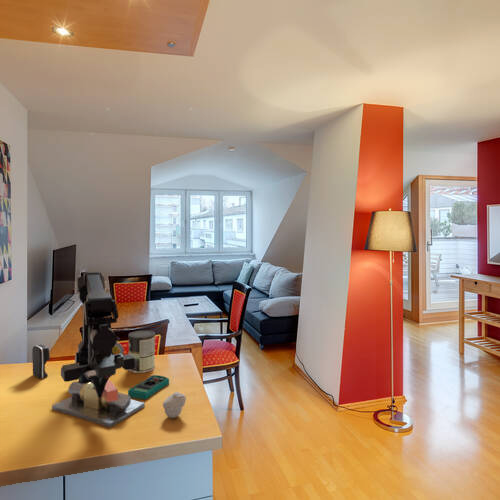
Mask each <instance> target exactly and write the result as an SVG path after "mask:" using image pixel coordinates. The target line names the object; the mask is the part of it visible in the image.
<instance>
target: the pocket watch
mask: <svg viewBox="0 0 500 500" xmlns="http://www.w3.org/2000/svg"><path fill="white" fill-rule="evenodd" d="M116 338H117V341H116V344H115V346H114V347H113V348H112V353H113V355H118V354H122V355H124V353H125V350H124V349H125V348H124V347H123V345H122V344H121V343H119V340H120V337H118V336H116Z"/></svg>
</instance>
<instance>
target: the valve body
mask: <svg viewBox="0 0 500 500" xmlns="http://www.w3.org/2000/svg"><path fill="white" fill-rule="evenodd" d="M112 384H113V385H114V382H112ZM67 391H68V394H70V395H71V396H69V397H68V398H65V399H63V400H60V401H59V402H56V403H54V404H52V405H51V410H52V411H56V412H59V413H63V414H66V415H70V416H73V417H75V418H78V419H82V420H84V421H89V422H92V423H95V424H97V425H98V424H99V425H100V426H101V425H102V426H103V427H108V428H113V427H114V426H116V425H117V424H119V423H120V422H123V421H124V420H126V419H127V418H129V417H130V416H132V415H134V414H135V413H137V412H138V411H140V410H142V409H143V408H145V407H146V405H145V402H143V401H138V400H136V399H132V397H130V396H129V395H128V394H126V393H122V392H119V391H118V400H115V401H111V402H107V401H106V400H105V398H104V397H103V395H102V396H101V398H98V396H97V393H96V390H95V388H94V385H93V383H91V382H88V383H86V384H84V383H80V382H78V381H77V380H74V381H73V382H72V381H71V383H70V384H69V386H68V390H67Z"/></svg>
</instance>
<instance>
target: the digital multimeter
mask: <svg viewBox="0 0 500 500" xmlns="http://www.w3.org/2000/svg"><path fill="white" fill-rule="evenodd" d="M169 384H170V379H169V378H168V377H166V376H163V375H157V374H155V375H154V374H153V375H151V376H150V377H148V378H146V379H145V380H143V381H140V382H139V383H138V384H136V385H134V386H133V387H130V388H129V389H128V390H127V395H129V396H130V397H131V398H134V399H139V400H145V401H146V400H148V399H149V398H150V397H151V396H153V395H155V393H157V392H158V391H160V390H162V389H163V388H165V387H166V386H168V385H169Z"/></svg>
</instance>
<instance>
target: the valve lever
mask: <svg viewBox="0 0 500 500" xmlns="http://www.w3.org/2000/svg"><path fill="white" fill-rule="evenodd" d="M112 383H113V382H112V381H111V380H110V378H109V379H108V381H107V383H106V386H105V388H104V391H103V394H102V395H103V397H104V398H105V400H106V401H107V402H111V401H115V400H118V392H119V391H118V390H119V389H118V388H117V387H116V386H115V385H114V383H113V384H112Z"/></svg>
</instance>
